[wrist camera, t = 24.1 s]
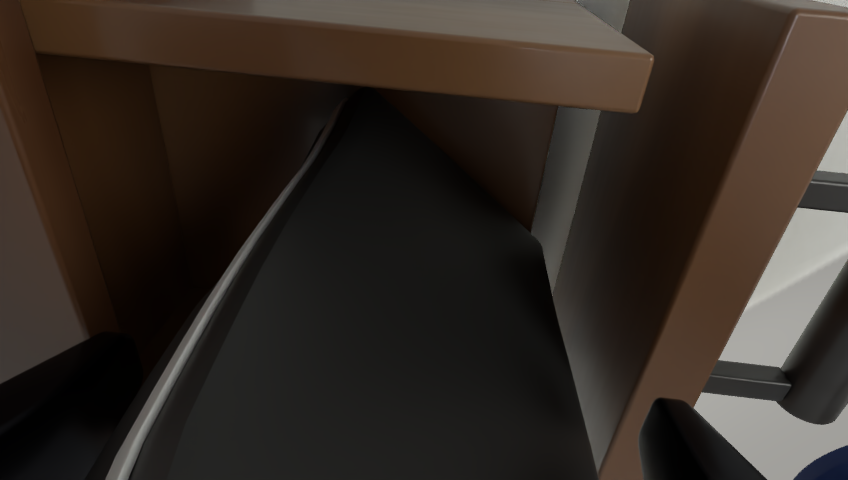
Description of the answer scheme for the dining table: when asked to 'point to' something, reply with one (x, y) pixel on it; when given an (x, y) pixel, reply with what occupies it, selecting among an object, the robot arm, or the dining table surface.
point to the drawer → (481, 160)
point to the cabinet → (40, 220)
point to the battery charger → (366, 334)
